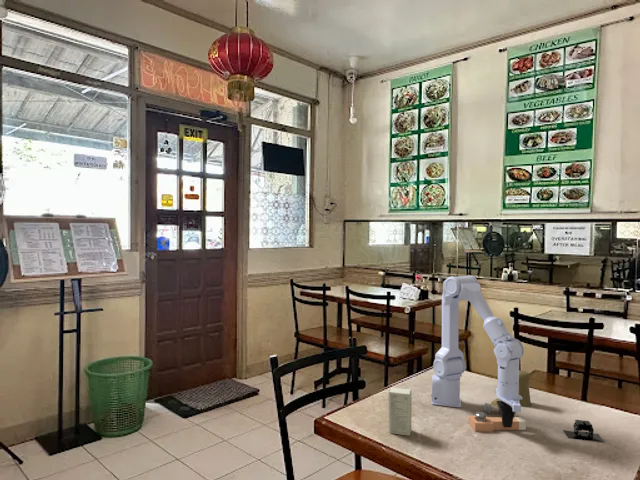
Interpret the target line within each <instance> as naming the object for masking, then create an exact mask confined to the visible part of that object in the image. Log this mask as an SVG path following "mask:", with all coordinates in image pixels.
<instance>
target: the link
mask: <svg viewBox="0 0 640 480" xmlns="http://www.w3.org/2000/svg"><path fill="white" fill-rule="evenodd" d="M467 423H468V425H469V426H470V427H471V429H472V430H473V431H474V432H494V431H495V430H497V431H498V430H502V431H503V430H504V431H505V430H506V431H507V430H510V431H511V430H515V431H516V430H518V431H519V430H520V431H522V430H523V431H525V430H527V421H526V420H525V419H524V418H523V417H521V416H519V417H518V416H517V417H516V416H514V418H513V423H512V427H511V428H509V427H504V426H503V424H502V417H501V416H500V417H499V416H498V417H497V416H495V417H493V416H489V417H488V416H487V417H486V418H484V422H478V421H477V417H476V416H475V415H468V422H467Z"/></svg>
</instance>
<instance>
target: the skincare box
mask: <svg viewBox="0 0 640 480" xmlns="http://www.w3.org/2000/svg"><path fill="white" fill-rule="evenodd" d="M412 410H413V409H412V388H404V387H395V386H391V387H390V388H389V390H388V433H390V434H397V435H402V436H411V433H412V416H413V415H412Z"/></svg>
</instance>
